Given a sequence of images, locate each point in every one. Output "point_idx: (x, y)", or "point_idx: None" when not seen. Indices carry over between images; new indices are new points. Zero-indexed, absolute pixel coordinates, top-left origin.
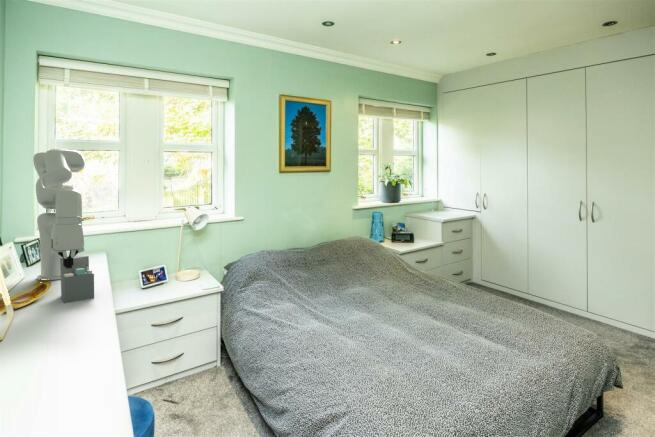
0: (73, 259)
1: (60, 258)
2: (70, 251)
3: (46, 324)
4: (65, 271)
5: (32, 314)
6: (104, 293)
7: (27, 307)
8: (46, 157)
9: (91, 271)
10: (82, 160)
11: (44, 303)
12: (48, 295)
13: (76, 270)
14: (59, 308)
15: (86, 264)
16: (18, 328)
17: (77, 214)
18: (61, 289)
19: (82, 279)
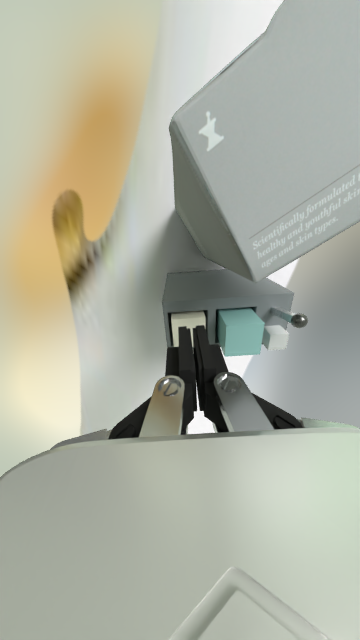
0: (259, 278)
1: (173, 133)
2: (234, 431)
3: (128, 413)
4: (195, 220)
5: (103, 353)
6: (289, 264)
7: (86, 291)
8: None
9: (281, 346)
10: None
11: (124, 276)
12: (137, 162)
13: (224, 343)
14: (154, 342)
15: (298, 324)
16: (89, 410)
17: None
18: (166, 284)
19: None
